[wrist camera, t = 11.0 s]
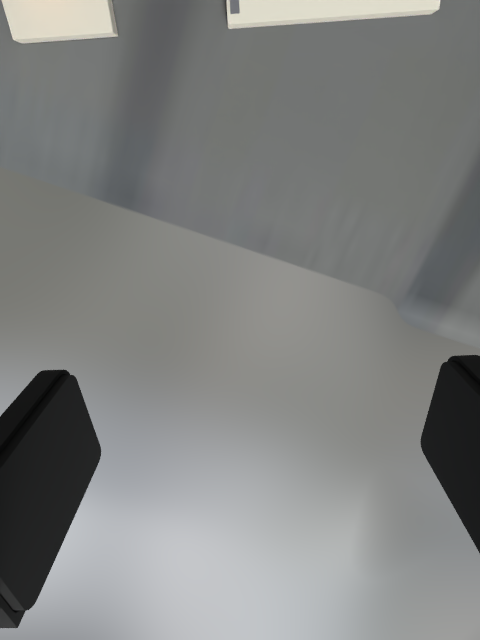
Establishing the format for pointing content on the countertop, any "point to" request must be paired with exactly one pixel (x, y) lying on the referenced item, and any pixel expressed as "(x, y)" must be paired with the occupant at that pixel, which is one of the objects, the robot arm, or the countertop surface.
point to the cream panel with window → (320, 11)
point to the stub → (60, 19)
